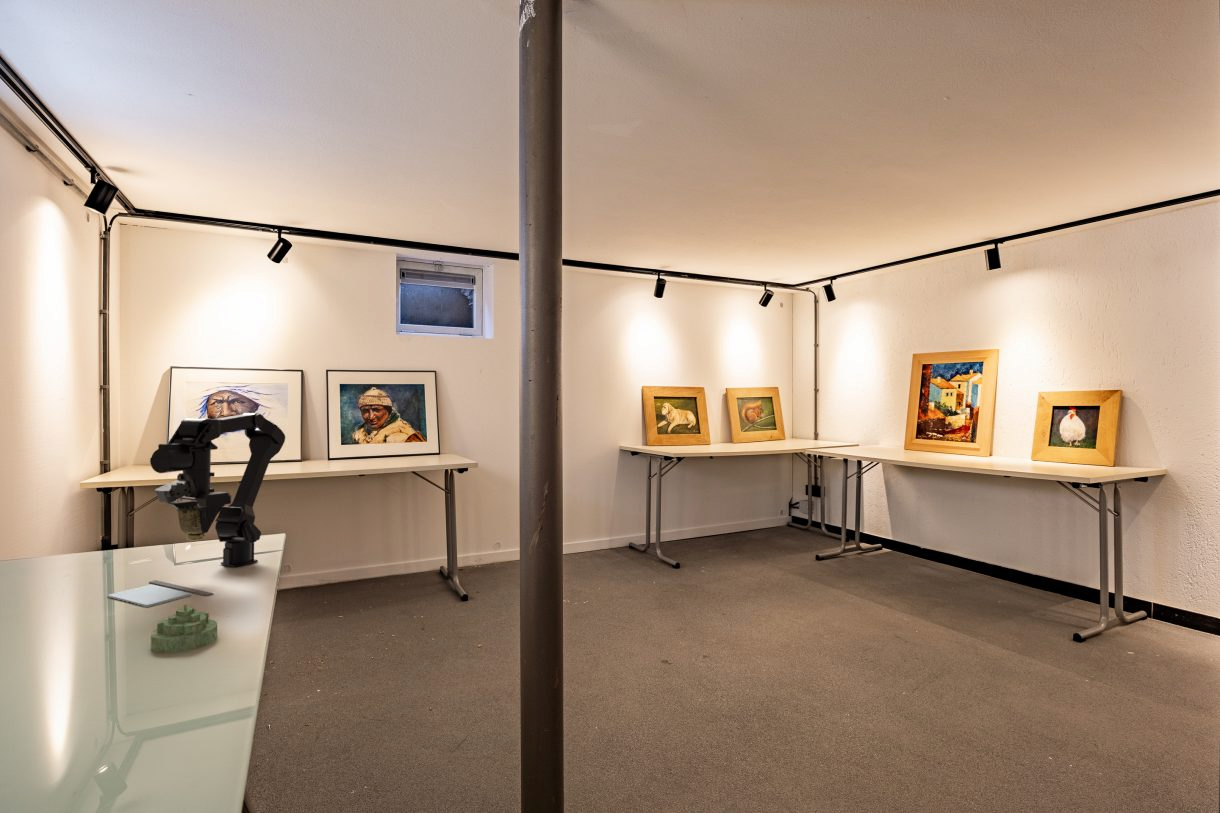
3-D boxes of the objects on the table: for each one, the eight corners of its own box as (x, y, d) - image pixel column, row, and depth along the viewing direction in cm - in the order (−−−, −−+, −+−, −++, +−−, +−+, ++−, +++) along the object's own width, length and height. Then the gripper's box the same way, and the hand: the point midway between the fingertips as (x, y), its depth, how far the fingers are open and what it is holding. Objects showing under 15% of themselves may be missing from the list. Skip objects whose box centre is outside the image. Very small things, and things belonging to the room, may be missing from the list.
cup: (220, 537, 153) (221, 505, 153) (197, 543, 146) (198, 510, 146) (193, 535, 154) (193, 504, 154) (169, 542, 147) (170, 509, 147)
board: (151, 586, 144) (151, 584, 144) (190, 595, 137) (190, 593, 137) (107, 597, 135) (107, 594, 135) (147, 607, 129) (147, 605, 129)
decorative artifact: (168, 634, 115) (138, 655, 105) (169, 597, 115) (139, 615, 105) (226, 631, 117) (202, 651, 107) (226, 594, 117) (202, 612, 107)
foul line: (155, 581, 147) (155, 580, 147) (212, 594, 138) (212, 593, 138) (148, 583, 146) (148, 581, 146) (206, 596, 137) (206, 594, 137)
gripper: (138, 469, 147) (137, 533, 147) (185, 474, 139) (185, 542, 139) (186, 465, 157) (185, 525, 157) (233, 469, 149) (232, 533, 149)
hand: (195, 531), depth 150 cm, fingers closed on cup, 7 cm apart
